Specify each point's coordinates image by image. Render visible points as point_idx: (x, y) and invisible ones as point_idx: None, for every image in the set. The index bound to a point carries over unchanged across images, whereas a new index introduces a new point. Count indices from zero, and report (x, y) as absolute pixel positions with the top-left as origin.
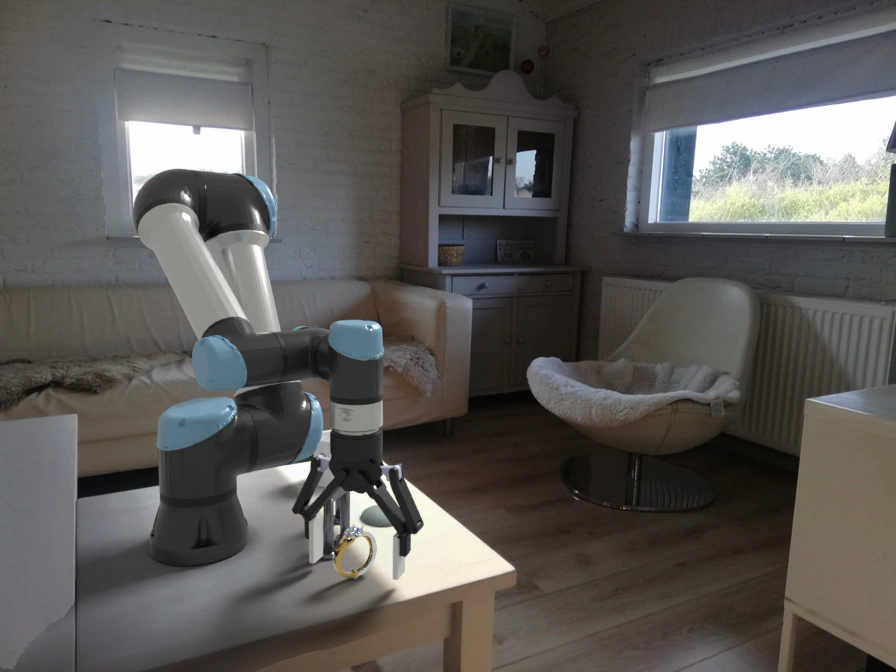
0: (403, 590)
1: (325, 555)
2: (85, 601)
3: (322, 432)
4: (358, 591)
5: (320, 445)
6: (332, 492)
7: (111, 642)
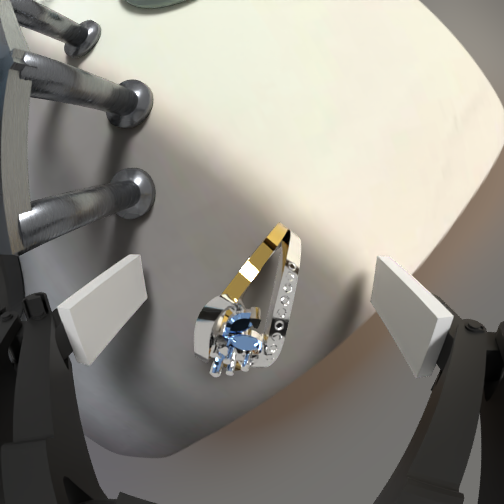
0: None
1: (133, 215)
2: None
3: None
4: None
5: None
6: (103, 492)
7: (100, 438)
